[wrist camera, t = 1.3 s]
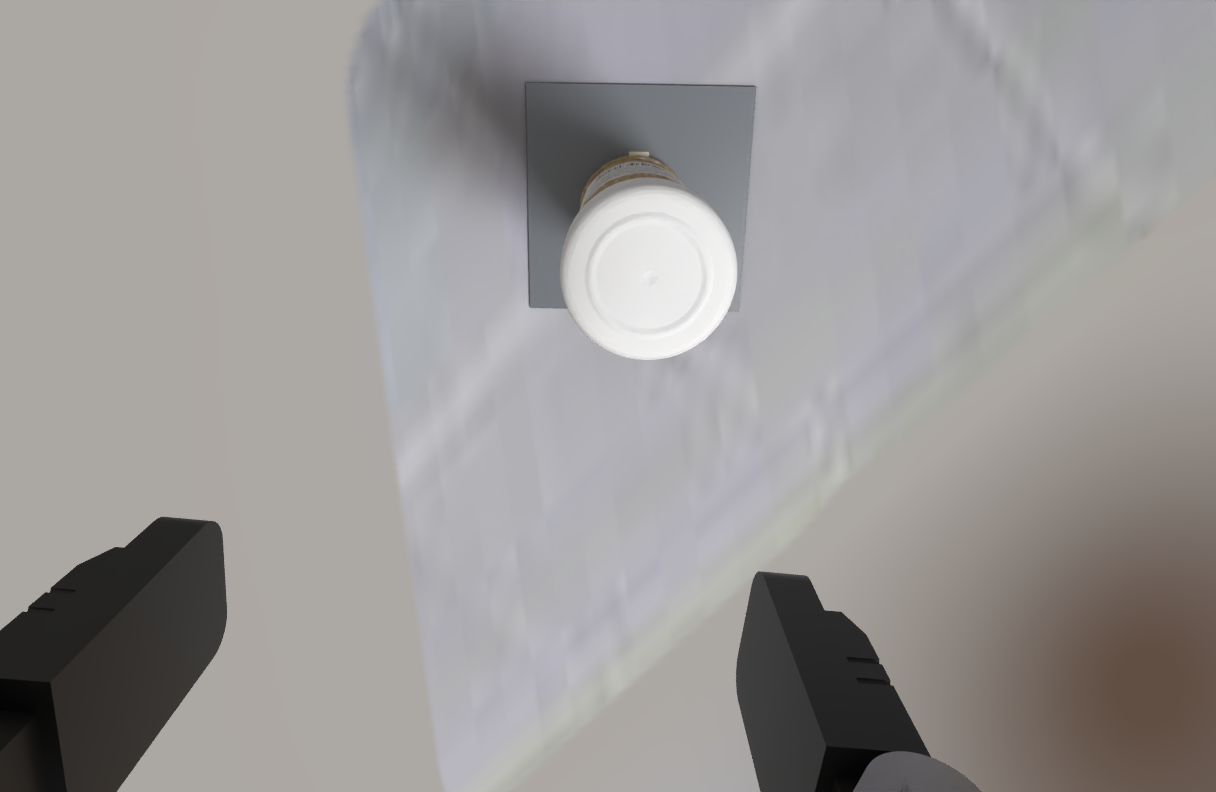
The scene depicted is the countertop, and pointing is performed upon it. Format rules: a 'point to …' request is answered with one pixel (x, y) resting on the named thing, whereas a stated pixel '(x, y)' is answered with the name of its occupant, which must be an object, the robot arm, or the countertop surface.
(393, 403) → the countertop surface
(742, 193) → the letter card
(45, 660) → the robot arm
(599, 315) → the sprinkles bottle
